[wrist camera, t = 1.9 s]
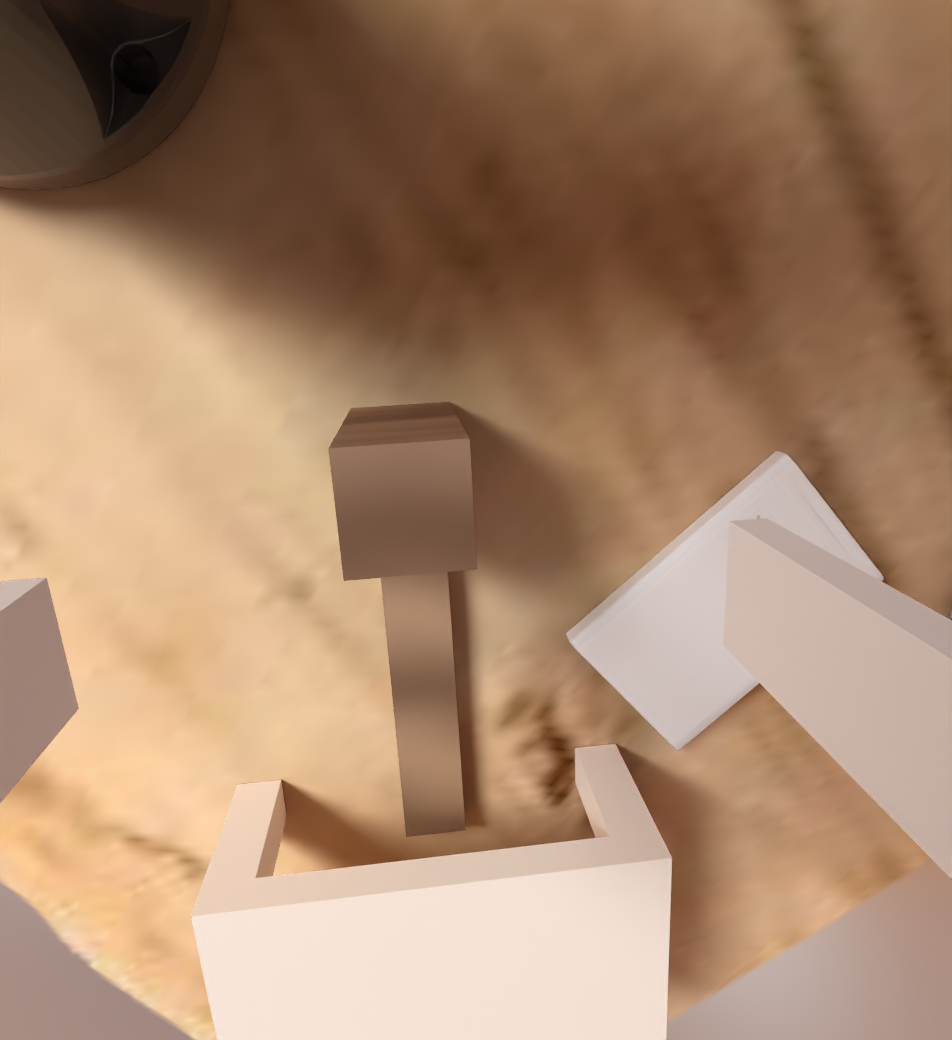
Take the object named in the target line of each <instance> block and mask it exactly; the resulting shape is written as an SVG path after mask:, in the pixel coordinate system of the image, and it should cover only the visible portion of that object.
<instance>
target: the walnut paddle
mask: <svg viewBox="0 0 952 1040" xmlns="http://www.w3.org/2000/svg"><path fill="white" fill-rule="evenodd" d="M329 455H330V464H331V473H332V482H333V490H334V499H335V508H336V517H337V525H338V534H339V543H340V551H341V560H342V569H343V578H344V581H346V580H358V579H370V578H381V584H382V594H383V604H384V614H385V624H386V635H387V645H388V655H389V665H390V675H391V685H392V696H393V706H394V716H395V726H396V736H397V747H398V757H399V767H400V777H401V787H402V797H403V808H404V818H405V828H406V837H409V836H417V835H426V834H435V833H443V832H452V831H461V830H466V829H465V815H464V800H463V786H462V771H461V757H460V742H459V728H458V713H457V699H456V684H455V670H454V655H453V641H452V626H451V612H450V597H449V583H448V572H452V571H463V570H475V569H477V558H476V541H475V523H474V505H473V487H472V469H471V451H470V438H469V436H468V434H467V433H466V431H465V429H464V427H463V425H462V423H461V422H460V420H459V418H458V416H457V414H456V413H455V411H454V409H453V407H452V405H451V404H450V402H441V403H426V404H410V405H395V406H380V407H365V408H351V410H350V411H349V413H348V415H347V417H346V418H345V420H344V422H343V424H342V426H341V427H340V429H339V431H338V433H337V435H336V436H335V438H334V440H333V442H332V443H331V445H330V447H329Z"/></svg>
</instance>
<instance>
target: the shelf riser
mask: <svg viewBox="0 0 952 1040" xmlns="http://www.w3.org/2000/svg"><path fill="white" fill-rule="evenodd" d="M575 783H576V786H577V789H578V791H579V794H580V797H581V800H582V802H583V805H584V808H585V810H586V813H587V816H588V818H589V821H590V824H591V827H592V829H593V832H594V835H595V837H596V838H590V839H582V840H573V841H565V842H557V843H548V844H540V845H531V846H523V847H514V848H506V849H498V850H489V851H481V852H472V853H464V854H455V855H447V856H439V857H430V858H422V859H413V860H405V861H396V862H388V863H379V864H371V865H363V866H354V867H346V868H337V869H329V870H320V871H312V872H304V873H295V874H287V875H278V876H273V872H274V868H275V864H276V860H277V855H278V851H279V847H280V842H281V838H282V834H283V829H284V825H285V821H286V817H287V814H286V808H285V801H284V795H283V788H282V782H281V780H274V781H265V782H256V783H246V784H238V785H237V787H236V790H235V793H234V796H233V799H232V802H231V804H230V807H229V810H228V813H227V816H226V819H225V821H224V824H223V827H222V830H221V833H220V835H219V838H218V841H217V844H216V847H215V850H214V852H213V855H212V858H211V861H210V864H209V867H208V869H207V872H206V875H205V878H204V881H203V884H202V886H201V889H200V892H199V895H198V898H197V901H196V903H195V906H194V909H193V912H192V915H191V920H192V924H193V929H194V934H195V939H196V943H197V948H198V953H199V957H200V962H201V967H202V971H203V976H204V981H205V986H206V990H207V995H208V1000H209V1004H210V1009H211V1014H212V1019H213V1023H214V1028H215V1033H216V1037H217V1040H666V1029H667V998H668V968H669V937H670V906H671V876H672V857H671V855H670V853H669V851H668V849H667V847H666V845H665V843H664V841H663V839H662V837H661V835H660V833H659V831H658V829H657V827H656V825H655V823H654V821H653V819H652V817H651V815H650V813H649V811H648V808H647V806H646V804H645V802H644V800H643V798H642V796H641V794H640V792H639V790H638V788H637V786H636V784H635V782H634V780H633V778H632V776H631V774H630V772H629V770H628V768H627V766H626V764H625V762H624V760H623V758H622V756H621V754H620V752H619V750H618V748H617V746H616V744H609V745H599V746H590V747H581V748H575Z"/></svg>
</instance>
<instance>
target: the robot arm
mask: <svg viewBox="0 0 952 1040" xmlns="http://www.w3.org/2000/svg"><path fill="white" fill-rule="evenodd" d="M227 7H228V0H0V187H3V188H10V189H23V190H46V189H58V188H65V187H71V186H77V185H81V184H85V183H89V182H92V181H95V180H98V179H101V178H104V177H107V176H109V175H111V174H114V173H116V172H118V171H120V170H122V169H124V168H126V167H128V166H129V165H131V164H133V163H135V162H136V161H138V160H139V159H141V158H142V157H144V156H145V155H147V154H148V153H149V152H151V151H152V150H153V149H154V148H156V147H157V146H158V145H159V144H160V143H161V142H162V141H164V140H165V139H166V138H167V137H168V136H169V135H170V134H171V133H172V132H173V130H174V129H175V128H176V127H177V126H178V125H179V124H180V123H181V121H182V120H183V119H184V117H185V116H186V115H187V113H188V112H189V111H190V109H191V108H192V106H193V105H194V103H195V101H196V100H197V98H198V96H199V95H200V93H201V91H202V89H203V87H204V85H205V83H206V81H207V79H208V77H209V75H210V72H211V70H212V67H213V65H214V62H215V59H216V56H217V53H218V50H219V47H220V43H221V39H222V35H223V31H224V26H225V20H226V14H227ZM723 646H724V647H725V648H726V649H727V650H728V651H729V652H730V653H731V654H732V655H733V656H734V657H735V658H736V659H737V660H738V661H739V662H740V663H741V664H742V665H743V666H744V668H745V669H746V670H747V671H748V672H749V673H750V674H751V675H752V676H753V677H754V678H755V679H756V680H757V681H758V682H759V683H760V684H761V685H762V686H763V687H764V688H765V689H766V690H767V691H768V692H769V693H770V694H771V695H772V696H773V697H774V698H775V699H776V700H777V701H778V702H779V703H780V704H781V705H782V706H783V707H784V708H785V709H786V711H787V712H788V713H789V714H790V715H791V716H792V717H793V718H794V719H795V720H796V721H797V722H798V723H799V724H800V725H801V726H802V727H803V728H804V729H805V730H806V731H807V732H808V733H809V734H810V735H811V736H812V737H813V738H814V739H815V740H816V741H817V742H818V743H819V744H820V745H821V746H822V747H823V748H824V749H825V750H826V751H827V753H828V754H829V755H830V756H831V757H832V758H833V759H834V760H835V761H836V762H837V763H838V764H839V765H840V766H841V767H842V768H843V769H844V770H845V771H846V772H847V773H848V774H849V775H850V776H851V777H852V778H853V779H854V780H855V781H856V782H857V783H858V784H859V785H860V786H861V787H862V788H863V789H864V790H865V791H866V792H867V793H868V794H869V796H870V797H871V798H872V799H873V800H874V801H875V802H876V803H877V804H878V805H879V806H880V807H881V808H882V809H883V810H884V811H885V812H886V813H887V814H888V815H889V816H890V817H891V818H892V819H893V820H894V821H895V822H896V823H897V824H898V825H899V826H900V827H901V828H902V829H903V830H904V831H905V832H906V833H907V834H908V835H909V836H910V838H911V839H912V840H913V841H914V842H915V843H916V844H917V845H918V846H919V847H920V848H921V849H922V850H923V851H924V852H925V853H926V854H927V855H928V856H929V857H930V858H931V859H932V860H933V861H934V862H935V863H936V864H937V865H938V866H939V867H940V868H941V869H942V870H943V871H944V872H945V873H946V874H947V875H948V876H949V877H950V878H951V879H952V619H951V618H948V617H945V616H943V615H941V614H939V613H938V612H936V611H934V610H932V609H930V608H929V607H927V606H925V605H923V604H921V603H920V602H918V601H916V600H914V599H912V598H910V597H909V596H907V595H905V594H903V593H901V592H900V591H898V590H896V589H894V588H892V587H891V586H889V585H887V584H885V583H883V582H881V581H880V580H878V579H876V578H874V577H872V576H871V575H869V574H867V573H865V572H863V571H861V570H860V569H858V568H856V567H854V566H852V565H851V564H849V563H847V562H845V561H843V560H842V559H840V558H838V557H836V556H834V555H832V554H831V553H829V552H827V551H825V550H823V549H822V548H820V547H818V546H816V545H814V544H813V543H811V542H809V541H807V540H805V539H803V538H802V537H800V536H798V535H796V534H794V533H793V532H791V531H789V530H787V529H785V528H784V527H782V526H780V525H778V524H776V523H774V522H773V521H771V520H769V519H767V518H760V519H748V520H736V521H730V522H729V542H728V561H727V581H726V600H725V620H724V639H723ZM78 709H79V708H78V704H77V700H76V696H75V692H74V688H73V684H72V680H71V676H70V672H69V667H68V663H67V659H66V655H65V651H64V647H63V643H62V639H61V635H60V631H59V626H58V622H57V618H56V614H55V610H54V606H53V602H52V598H51V594H50V590H49V586H48V581H47V578H35V579H23V580H11V581H3V582H1V583H0V803H1V802H2V800H3V799H4V798H5V797H6V796H7V794H8V793H9V792H10V791H11V790H12V788H13V787H14V786H15V785H16V784H17V782H18V781H19V780H20V779H21V777H22V776H23V775H24V774H25V773H26V771H27V770H28V769H29V768H30V767H31V765H32V764H33V763H34V762H35V761H36V759H37V758H38V757H39V756H40V755H41V753H42V752H43V751H44V750H45V749H46V747H47V746H48V745H49V744H50V743H51V741H52V740H53V739H54V738H55V736H56V735H57V734H58V733H59V732H60V730H61V729H62V728H63V727H64V726H65V724H66V723H67V722H68V721H69V720H70V718H71V717H72V716H73V715H74V714H75V712H76V711H77V710H78Z"/></svg>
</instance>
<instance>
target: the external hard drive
mask: <svg viewBox="0 0 952 1040" xmlns="http://www.w3.org/2000/svg"><path fill="white" fill-rule="evenodd" d="M760 518H767V519H769V520H771V521H773V522H774V523H776V524H778V525H780V526H782V527H784V528H785V529H787V530H789V531H791V532H793V533H794V534H796V535H798V536H800V537H802V538H803V539H805V540H807V541H809V542H811V543H813V544H814V545H816V546H818V547H820V548H822V549H823V550H825V551H827V552H829V553H831V554H832V555H834V556H836V557H838V558H840V559H842V560H843V561H845V562H847V563H849V564H851V565H852V566H854V567H856V568H858V569H860V570H861V571H863V572H865V573H867V574H869V575H871V576H872V577H874V578H876V579H878V580H880V581H882V580H884V578H883V575H882V574H881V572H880V571H879V570H878V569H877V567H876V566H875V565H874V564H873V562H872V561H871V560H870V559H869V557H868V556H867V555H866V553H865V552H864V551H863V550H862V549H861V547H860V546H859V545H858V543H857V542H856V541H855V540H854V538H853V537H852V536H851V534H850V533H849V532H848V530H847V529H846V528H845V527H844V525H843V524H842V523H841V521H840V520H839V519H838V517H837V516H836V515H835V514H834V512H833V511H832V510H831V508H830V507H829V506H828V505H827V503H826V502H825V501H824V499H823V498H822V497H821V495H820V494H819V493H818V492H817V490H816V489H815V488H814V486H813V485H812V484H811V483H810V481H809V480H808V479H807V477H806V476H805V475H804V474H803V472H802V471H801V470H800V468H799V467H798V466H797V464H796V463H795V462H794V461H793V460H792V459H791V458H790V457H789V456H788V455H787V454H785V453H783V452H780V451H777V450H776V451H775V452H774V453H772V454H771V455H770V456H769V457H768V458H767V459H766V460H764V461H763V462H762V463H761V464H760V465H759V466H758V467H756V468H755V469H754V470H753V471H752V472H751V473H750V474H749V475H747V476H746V477H745V478H744V479H743V480H742V481H741V482H739V483H738V484H737V485H736V486H735V487H734V488H733V489H731V490H730V491H729V492H728V493H727V494H726V495H724V496H723V497H722V498H721V499H720V500H719V501H718V502H716V503H715V504H714V505H713V506H712V507H711V508H709V509H708V510H707V511H706V512H705V513H704V514H702V515H701V516H700V517H699V518H698V519H697V520H695V521H694V522H693V523H692V524H691V525H690V526H689V527H687V528H686V529H685V530H684V531H683V532H682V533H680V534H679V535H678V536H677V537H676V538H675V539H674V540H673V541H671V542H670V543H669V544H668V545H667V546H665V547H664V548H663V549H662V550H661V551H660V552H659V553H658V554H656V555H655V556H654V557H653V558H652V559H651V560H650V561H648V562H647V563H646V564H645V565H644V566H643V567H642V568H640V569H639V570H638V571H637V572H636V573H635V574H633V575H632V576H631V577H630V578H629V579H628V580H627V581H625V582H624V583H623V584H622V585H621V586H620V587H618V588H617V589H616V590H615V591H614V592H613V593H611V594H610V595H609V596H608V597H607V598H606V599H605V600H603V601H602V602H601V603H600V604H599V605H598V606H597V607H595V608H594V609H593V610H592V611H591V612H590V613H588V614H587V615H586V616H585V617H584V618H583V619H582V620H580V621H579V622H578V623H577V624H576V625H575V626H574V627H572V628H571V629H570V630H569V631H568V632H567V633H566V636H567V638H568V640H569V642H570V643H571V645H572V646H573V647H574V648H575V649H576V650H577V651H578V652H579V653H580V654H581V655H582V656H583V657H584V658H585V659H586V660H587V661H588V662H589V663H590V664H591V665H592V666H593V667H594V668H595V669H596V670H597V671H598V672H599V673H600V674H601V675H602V676H603V677H604V678H605V679H606V680H607V681H608V682H609V683H610V684H611V685H612V686H613V687H614V688H615V689H616V690H617V691H618V692H619V693H620V694H621V695H622V696H623V697H624V698H625V699H626V700H627V701H628V702H629V703H630V704H631V705H632V706H633V707H634V708H635V709H636V710H637V711H638V712H639V713H640V714H641V715H642V716H643V717H644V718H645V719H646V720H647V721H648V722H649V723H650V725H651V726H652V727H654V728H655V729H656V730H657V731H658V733H659V734H661V736H662V737H663V738H665V739H666V740H667V742H668V743H670V744H671V745H672V746H673V747H674V748H675V749H676V750H677V751H678V750H680V749H681V748H682V747H683V746H685V745H686V744H687V743H688V742H690V741H691V740H692V739H693V738H695V737H696V736H697V735H698V734H699V733H701V732H702V731H703V730H704V729H705V728H706V727H708V726H709V725H710V724H711V723H712V722H714V721H715V720H716V719H717V718H718V717H720V716H721V715H722V714H723V713H724V712H726V711H727V710H728V709H729V708H730V707H732V706H733V705H734V704H735V703H736V702H738V701H739V700H740V699H741V698H742V697H744V696H745V695H746V694H747V693H748V692H750V691H751V690H752V689H753V688H754V687H755V686H757V685H758V684H759V682H758V681H757V680H756V679H755V678H754V677H753V676H752V675H751V674H750V673H749V672H748V671H747V670H746V669H745V668H744V666H743V665H742V664H741V663H740V662H739V661H738V660H737V659H736V658H735V657H734V656H733V655H732V654H731V653H730V652H729V651H728V650H727V649H726V648H725V647H724V646H723V639H724V620H725V600H726V581H727V561H728V542H729V522H730V521H736V520H748V519H760Z"/></svg>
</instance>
